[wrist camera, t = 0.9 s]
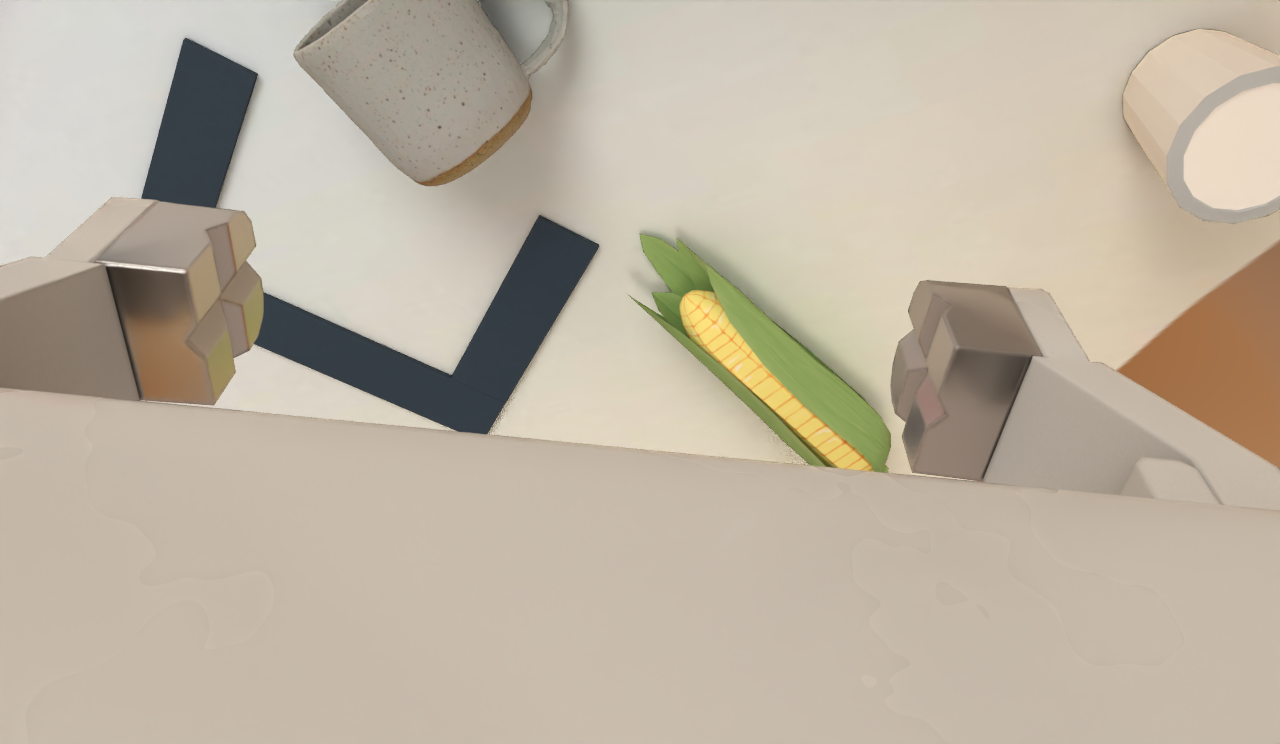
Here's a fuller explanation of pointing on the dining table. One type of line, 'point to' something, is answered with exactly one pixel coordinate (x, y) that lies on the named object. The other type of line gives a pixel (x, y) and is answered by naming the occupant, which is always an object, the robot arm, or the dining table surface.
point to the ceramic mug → (426, 79)
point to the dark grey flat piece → (466, 401)
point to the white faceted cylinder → (1210, 123)
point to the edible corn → (765, 364)
